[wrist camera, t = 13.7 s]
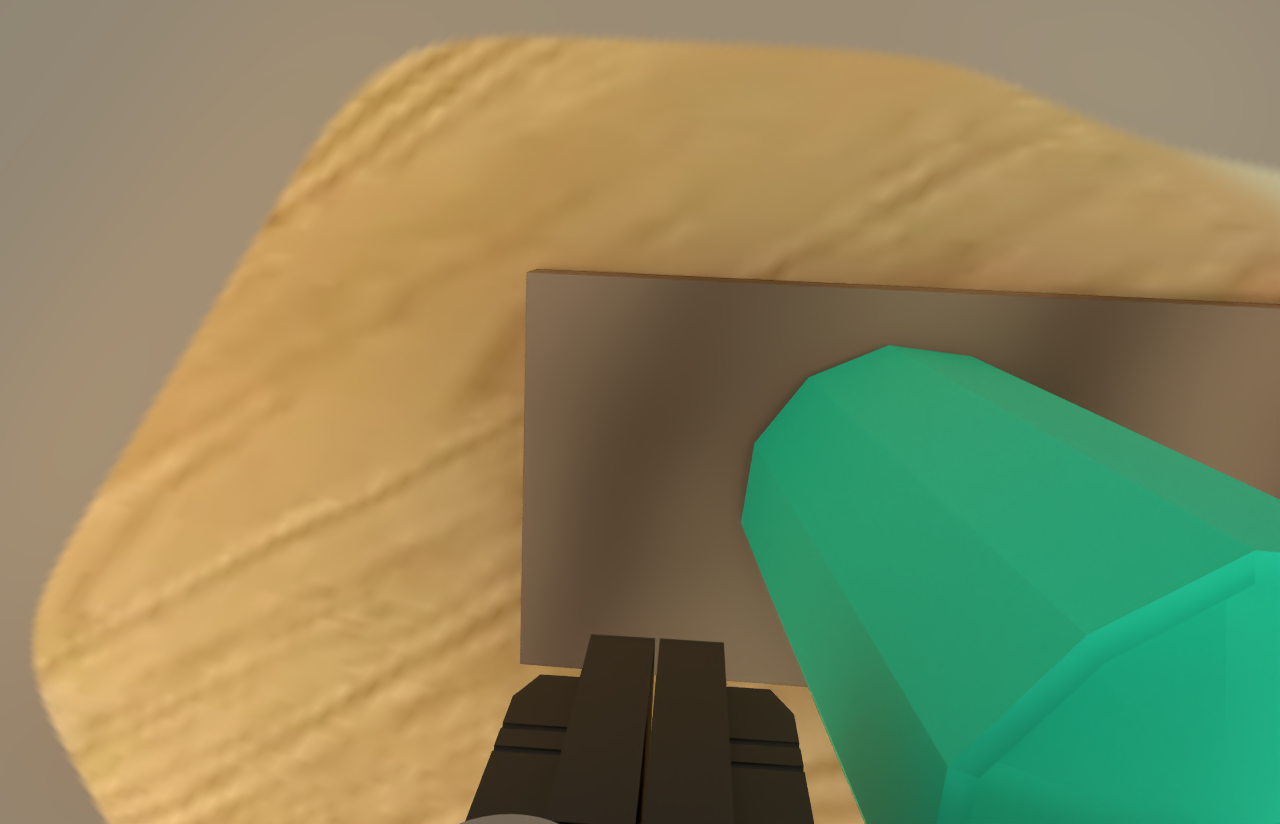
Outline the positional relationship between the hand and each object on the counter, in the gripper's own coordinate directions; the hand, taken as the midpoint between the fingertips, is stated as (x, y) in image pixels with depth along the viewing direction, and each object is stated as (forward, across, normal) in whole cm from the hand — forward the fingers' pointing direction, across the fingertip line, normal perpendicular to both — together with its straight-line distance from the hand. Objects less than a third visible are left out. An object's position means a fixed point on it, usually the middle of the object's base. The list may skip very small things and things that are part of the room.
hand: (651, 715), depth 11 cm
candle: (+8, -4, 0) cm, 9 cm away
